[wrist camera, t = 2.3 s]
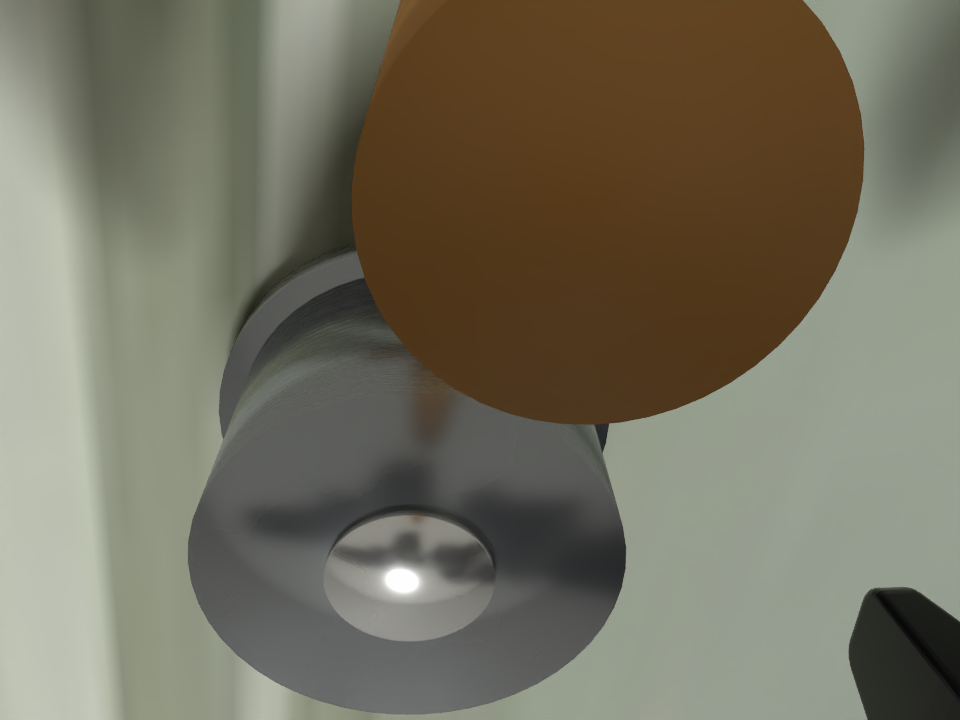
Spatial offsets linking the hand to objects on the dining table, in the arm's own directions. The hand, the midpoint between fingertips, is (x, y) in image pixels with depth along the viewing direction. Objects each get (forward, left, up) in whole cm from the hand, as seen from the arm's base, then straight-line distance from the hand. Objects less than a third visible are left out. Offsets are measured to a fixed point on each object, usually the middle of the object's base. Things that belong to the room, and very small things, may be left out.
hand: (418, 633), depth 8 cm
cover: (0, 0, -4) cm, 4 cm away
